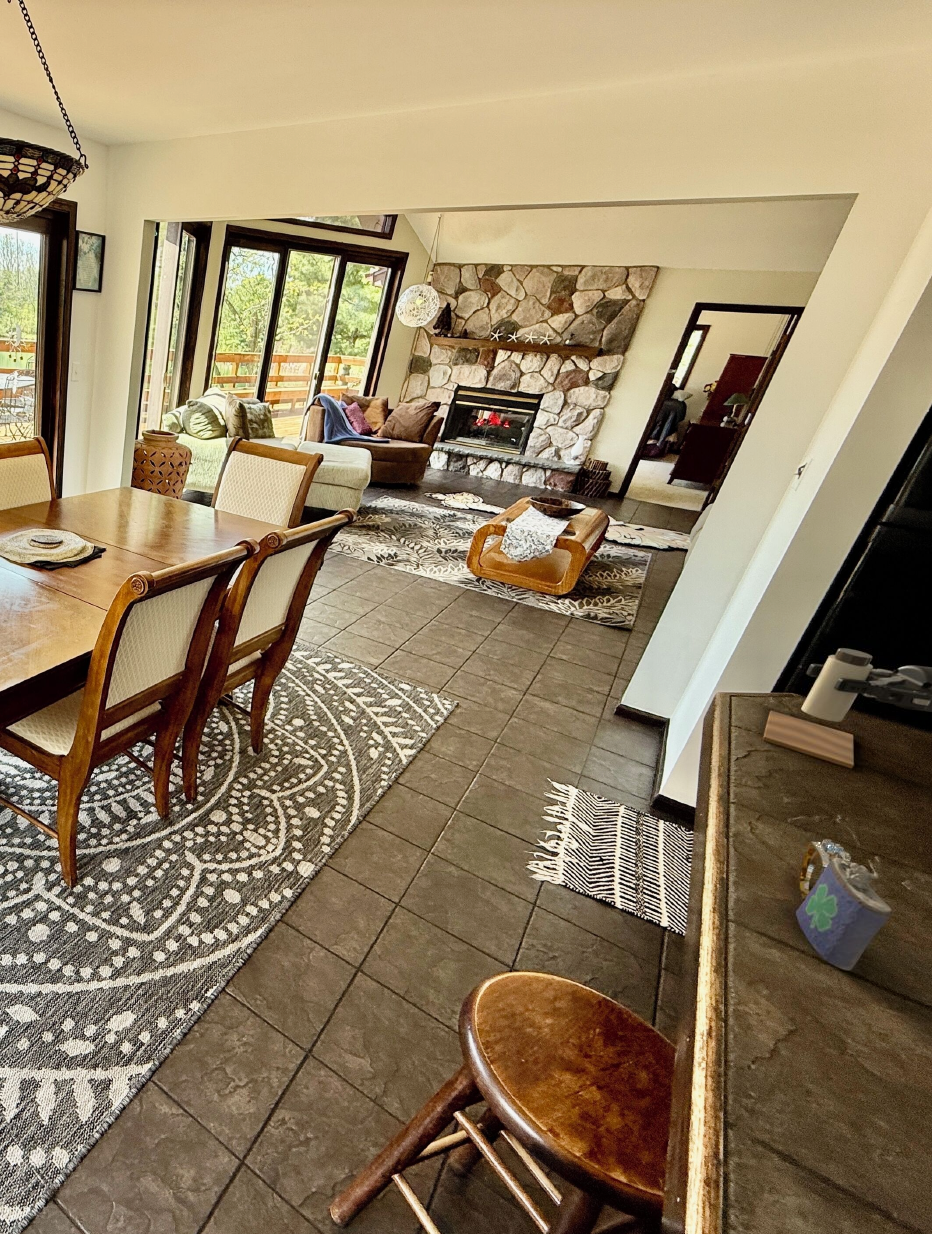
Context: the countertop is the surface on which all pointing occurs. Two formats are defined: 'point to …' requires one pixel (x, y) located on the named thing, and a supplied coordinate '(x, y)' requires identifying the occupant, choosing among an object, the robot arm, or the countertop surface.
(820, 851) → the ring
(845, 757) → the wooden board
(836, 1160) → the countertop surface
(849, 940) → the flask
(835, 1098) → the countertop surface
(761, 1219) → the countertop surface
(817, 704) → the salt mill
